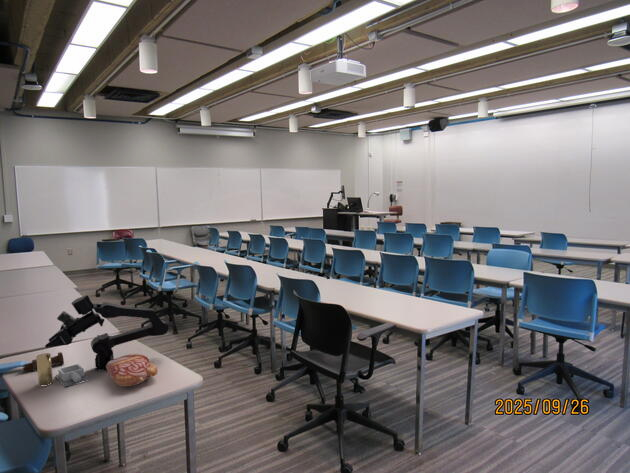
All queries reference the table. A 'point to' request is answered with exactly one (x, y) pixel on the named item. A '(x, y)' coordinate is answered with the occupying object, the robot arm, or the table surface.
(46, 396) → the table surface
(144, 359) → the anatomical model
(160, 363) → the table surface
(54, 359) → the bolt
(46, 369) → the gold metallic cylinder
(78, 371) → the manifold
